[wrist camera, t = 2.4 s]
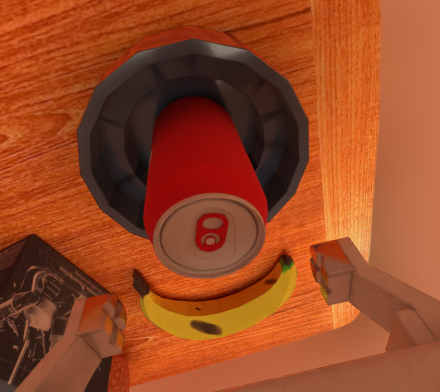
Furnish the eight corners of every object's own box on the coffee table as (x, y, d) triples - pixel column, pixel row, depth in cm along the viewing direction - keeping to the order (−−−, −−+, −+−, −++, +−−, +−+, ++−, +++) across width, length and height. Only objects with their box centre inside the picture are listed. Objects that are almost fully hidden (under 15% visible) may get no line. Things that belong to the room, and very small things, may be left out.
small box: (124, 301, 35) (106, 424, 25) (77, 321, 36) (42, 447, 26) (34, 230, 27) (-42, 369, 17) (-22, 259, 28) (-123, 405, 19)
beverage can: (153, 166, 24) (141, 288, 15) (152, 89, 21) (136, 184, 11) (228, 169, 25) (262, 284, 16) (239, 96, 22) (292, 188, 12)
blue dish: (58, 56, 19) (24, 79, 15) (276, 3, 19) (307, 10, 15) (138, 219, 28) (131, 264, 23) (288, 183, 28) (310, 222, 23)
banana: (322, 301, 32) (246, 208, 26) (198, 372, 36) (104, 304, 30) (308, 273, 36) (238, 186, 30) (197, 339, 40) (115, 273, 34)
